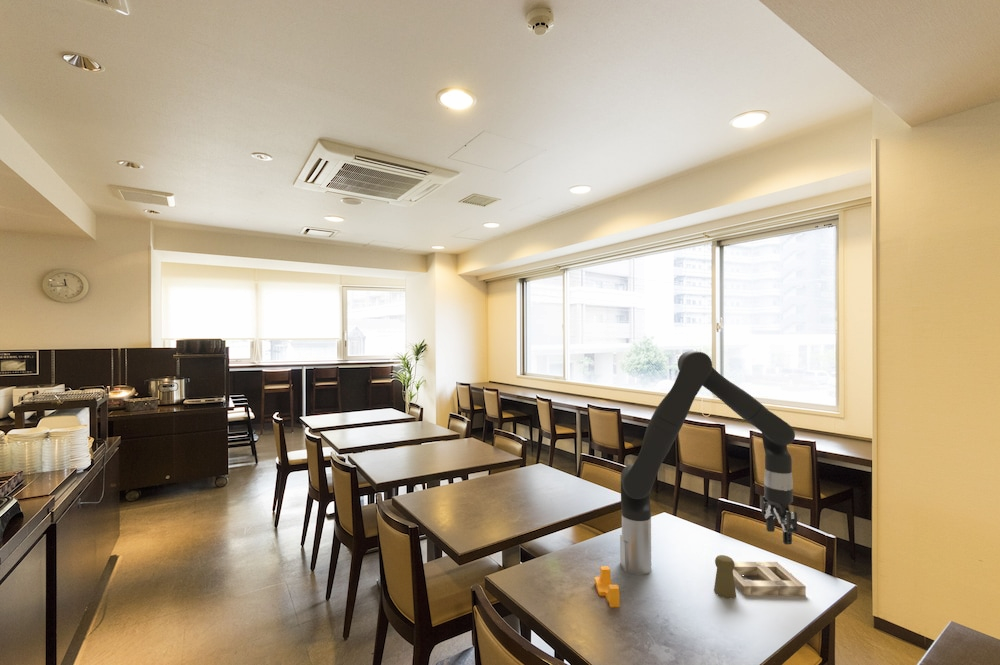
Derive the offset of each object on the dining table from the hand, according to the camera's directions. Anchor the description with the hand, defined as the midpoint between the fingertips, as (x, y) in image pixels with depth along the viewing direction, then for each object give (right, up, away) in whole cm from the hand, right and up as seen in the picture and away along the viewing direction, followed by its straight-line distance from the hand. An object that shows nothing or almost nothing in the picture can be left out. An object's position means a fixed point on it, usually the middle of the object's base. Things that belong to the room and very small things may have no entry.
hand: (778, 537), depth 139 cm
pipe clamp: (-55, -15, -7) cm, 57 cm away
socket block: (-5, -14, 0) cm, 15 cm away
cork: (-20, -15, -6) cm, 25 cm away
